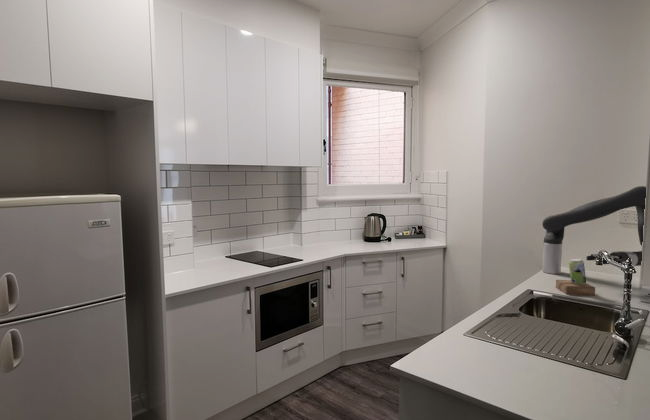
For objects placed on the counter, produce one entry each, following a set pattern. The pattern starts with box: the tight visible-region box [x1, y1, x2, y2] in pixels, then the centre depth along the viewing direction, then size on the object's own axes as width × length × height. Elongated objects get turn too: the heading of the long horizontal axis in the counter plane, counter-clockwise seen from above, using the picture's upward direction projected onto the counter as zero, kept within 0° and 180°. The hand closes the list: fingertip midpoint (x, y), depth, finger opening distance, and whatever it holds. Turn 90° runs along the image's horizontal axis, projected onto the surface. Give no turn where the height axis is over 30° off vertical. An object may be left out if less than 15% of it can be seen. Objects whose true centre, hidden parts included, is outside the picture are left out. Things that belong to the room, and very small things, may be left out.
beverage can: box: [568, 258, 587, 285], centre depth 182 cm, size 6×7×12 cm
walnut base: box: [555, 279, 596, 297], centre depth 184 cm, size 12×12×4 cm
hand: (594, 259), depth 185 cm, fingers open, 8 cm apart
